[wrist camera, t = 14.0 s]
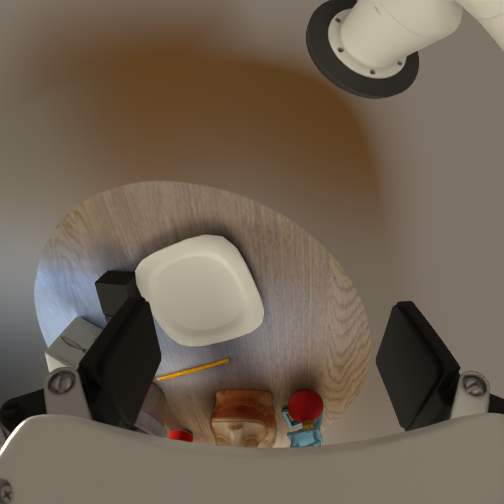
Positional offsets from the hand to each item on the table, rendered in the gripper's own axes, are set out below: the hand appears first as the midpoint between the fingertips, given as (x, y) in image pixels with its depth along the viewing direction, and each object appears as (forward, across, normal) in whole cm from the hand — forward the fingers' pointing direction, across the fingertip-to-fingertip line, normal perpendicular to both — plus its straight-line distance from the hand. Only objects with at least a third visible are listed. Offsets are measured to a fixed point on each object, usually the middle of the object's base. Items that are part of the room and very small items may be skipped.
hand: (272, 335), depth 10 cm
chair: (+28, -10, +47) cm, 56 cm away
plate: (+28, +10, +15) cm, 34 cm away
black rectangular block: (+28, +23, +15) cm, 39 cm away
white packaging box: (+28, +35, +27) cm, 53 cm away
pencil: (+29, +14, +33) cm, 46 cm away
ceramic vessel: (+28, +3, +46) cm, 54 cm away
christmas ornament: (+28, -9, +39) cm, 49 cm away
